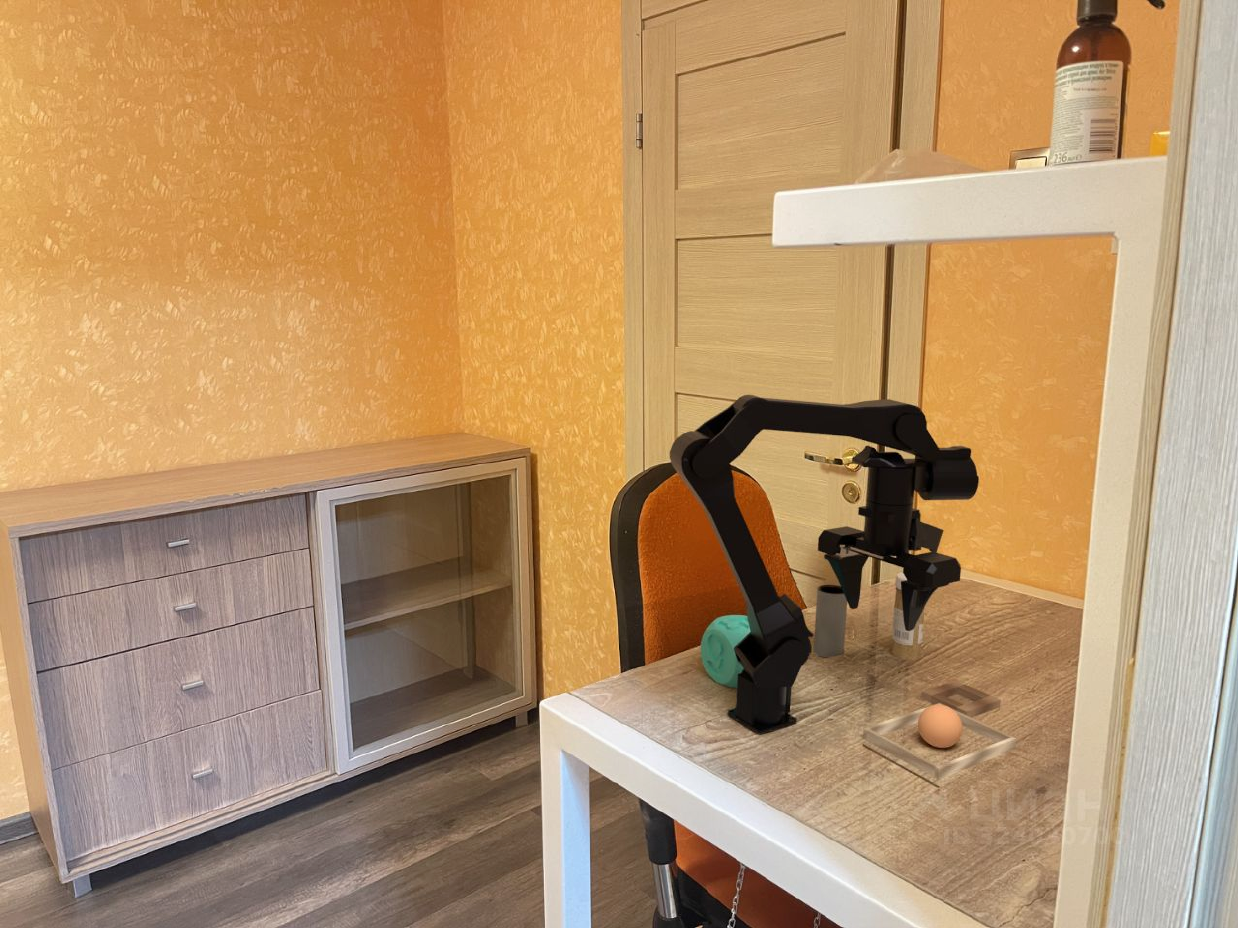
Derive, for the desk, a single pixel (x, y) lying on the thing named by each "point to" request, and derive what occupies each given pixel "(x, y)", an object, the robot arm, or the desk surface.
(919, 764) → the tray
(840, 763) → the desk surface
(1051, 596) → the desk surface
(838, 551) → the robot arm
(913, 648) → the sprinkles bottle
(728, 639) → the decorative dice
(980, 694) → the brown flat square frame
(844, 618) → the grey hollow cylinder
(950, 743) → the ball
